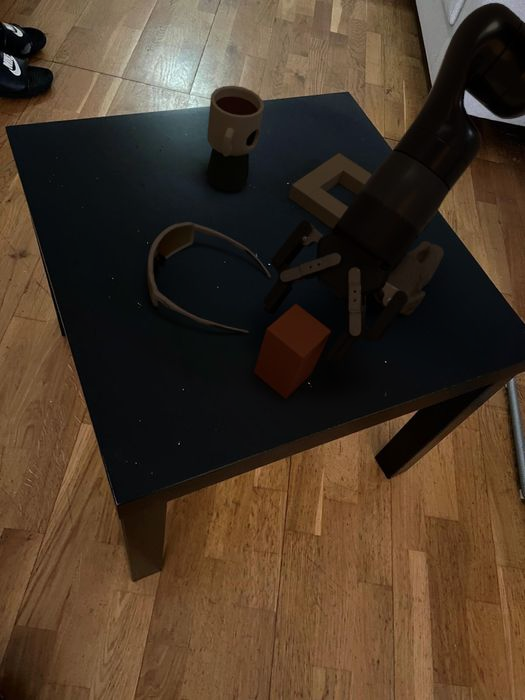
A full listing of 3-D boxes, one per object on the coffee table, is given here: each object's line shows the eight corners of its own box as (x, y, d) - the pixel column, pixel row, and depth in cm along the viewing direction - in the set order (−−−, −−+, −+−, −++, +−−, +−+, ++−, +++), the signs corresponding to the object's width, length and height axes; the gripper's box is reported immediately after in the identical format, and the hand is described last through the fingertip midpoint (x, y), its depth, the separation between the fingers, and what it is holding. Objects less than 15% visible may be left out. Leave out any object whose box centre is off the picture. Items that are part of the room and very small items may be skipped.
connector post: (311, 373, 65) (331, 330, 57) (285, 399, 62) (303, 358, 55) (280, 348, 66) (295, 303, 58) (253, 372, 63) (266, 328, 56)
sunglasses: (170, 229, 73) (176, 203, 69) (270, 276, 75) (281, 253, 71) (124, 305, 65) (128, 280, 61) (238, 355, 67) (249, 334, 63)
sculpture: (400, 248, 80) (353, 300, 72) (415, 224, 77) (368, 276, 68) (440, 275, 79) (398, 332, 70) (457, 252, 75) (415, 310, 67)
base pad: (395, 206, 84) (401, 194, 82) (352, 243, 78) (357, 230, 76) (334, 165, 87) (339, 152, 85) (288, 197, 81) (291, 184, 79)
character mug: (242, 210, 78) (256, 131, 67) (195, 198, 78) (201, 117, 67) (255, 164, 84) (270, 85, 74) (211, 152, 84) (219, 72, 73)
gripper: (329, 161, 53) (236, 294, 57) (449, 243, 49) (341, 380, 53) (344, 182, 60) (260, 299, 64) (450, 255, 56) (355, 375, 60)
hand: (297, 336), depth 58 cm, fingers open, 8 cm apart
